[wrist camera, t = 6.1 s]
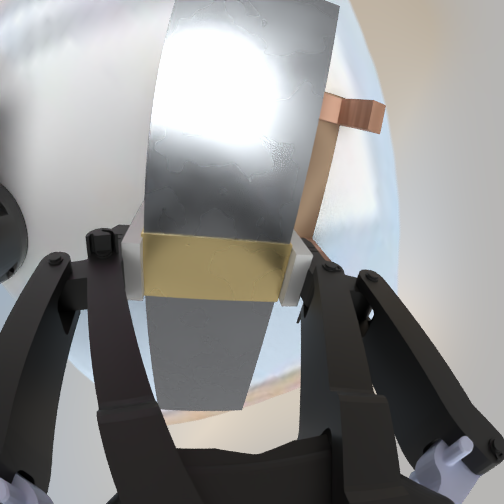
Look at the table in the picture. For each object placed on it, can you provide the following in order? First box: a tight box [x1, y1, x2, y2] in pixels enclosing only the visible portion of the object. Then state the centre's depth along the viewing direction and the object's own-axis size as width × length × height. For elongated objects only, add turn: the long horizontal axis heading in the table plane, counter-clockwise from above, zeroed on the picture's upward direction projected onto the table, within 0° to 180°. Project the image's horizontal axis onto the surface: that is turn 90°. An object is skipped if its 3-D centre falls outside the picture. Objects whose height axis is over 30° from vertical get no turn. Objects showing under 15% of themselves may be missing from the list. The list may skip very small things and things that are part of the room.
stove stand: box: [294, 92, 386, 261], centre depth 28 cm, size 11×22×10 cm, turn 171°
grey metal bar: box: [141, 0, 340, 411], centre depth 14 cm, size 24×6×6 cm, turn 170°
